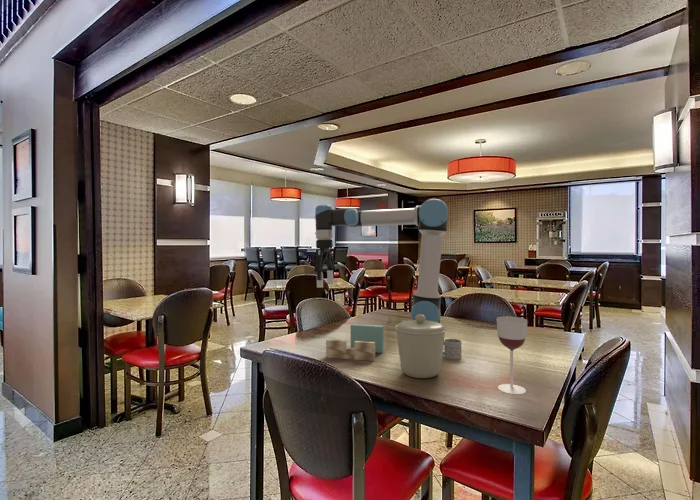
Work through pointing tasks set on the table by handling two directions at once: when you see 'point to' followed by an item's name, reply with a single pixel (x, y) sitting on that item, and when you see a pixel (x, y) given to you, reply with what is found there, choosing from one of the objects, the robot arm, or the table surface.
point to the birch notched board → (350, 350)
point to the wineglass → (511, 345)
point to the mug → (452, 349)
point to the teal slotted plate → (368, 335)
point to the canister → (420, 346)
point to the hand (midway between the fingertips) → (325, 285)
